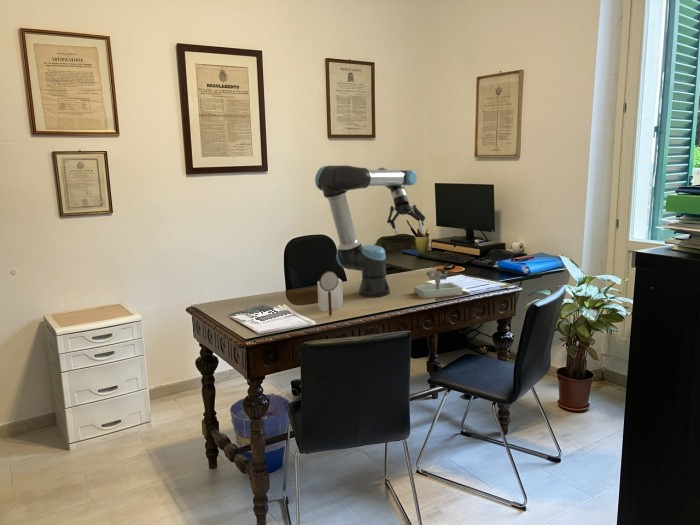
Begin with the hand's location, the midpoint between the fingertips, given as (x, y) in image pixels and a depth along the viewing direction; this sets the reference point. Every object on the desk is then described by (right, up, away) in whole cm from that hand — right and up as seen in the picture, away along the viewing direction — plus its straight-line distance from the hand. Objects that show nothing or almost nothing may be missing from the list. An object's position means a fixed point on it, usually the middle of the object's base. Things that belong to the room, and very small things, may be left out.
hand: (409, 232), depth 284 cm
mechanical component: (+12, -30, -14) cm, 35 cm away
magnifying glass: (-39, -39, -46) cm, 72 cm away
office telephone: (-70, -39, -39) cm, 89 cm away
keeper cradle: (+12, -31, -14) cm, 36 cm away
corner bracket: (-39, -36, -31) cm, 61 cm away
